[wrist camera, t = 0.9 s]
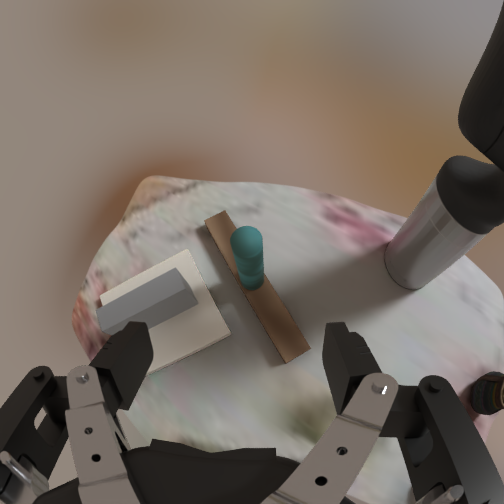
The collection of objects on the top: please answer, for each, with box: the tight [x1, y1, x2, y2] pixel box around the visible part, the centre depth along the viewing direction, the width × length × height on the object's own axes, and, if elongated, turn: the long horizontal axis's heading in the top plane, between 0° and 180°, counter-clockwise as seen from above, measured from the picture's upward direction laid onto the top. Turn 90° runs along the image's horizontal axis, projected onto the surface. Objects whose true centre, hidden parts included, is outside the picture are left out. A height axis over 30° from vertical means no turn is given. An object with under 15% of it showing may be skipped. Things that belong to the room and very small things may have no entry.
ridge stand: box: [96, 249, 231, 376], centre depth 33 cm, size 16×14×8 cm
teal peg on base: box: [204, 211, 311, 364], centre depth 33 cm, size 4×24×13 cm, turn 29°
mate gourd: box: [471, 371, 504, 415], centre depth 23 cm, size 7×8×10 cm
